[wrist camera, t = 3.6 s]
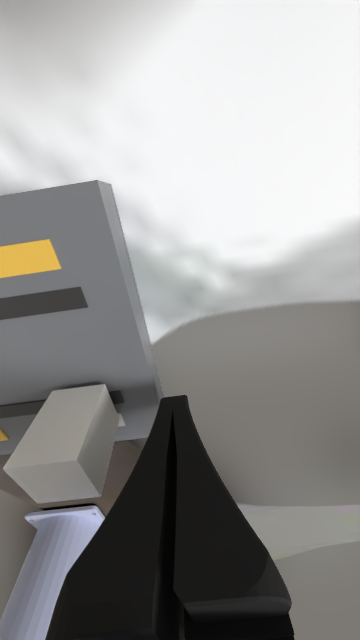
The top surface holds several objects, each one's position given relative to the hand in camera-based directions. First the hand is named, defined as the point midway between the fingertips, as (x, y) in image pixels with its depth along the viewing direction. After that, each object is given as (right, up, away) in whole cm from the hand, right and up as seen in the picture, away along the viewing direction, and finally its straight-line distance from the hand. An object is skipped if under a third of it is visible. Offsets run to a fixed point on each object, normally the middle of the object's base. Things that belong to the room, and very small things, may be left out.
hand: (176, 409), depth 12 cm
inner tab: (-5, 0, +1) cm, 5 cm away
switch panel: (-10, +3, +2) cm, 10 cm away
